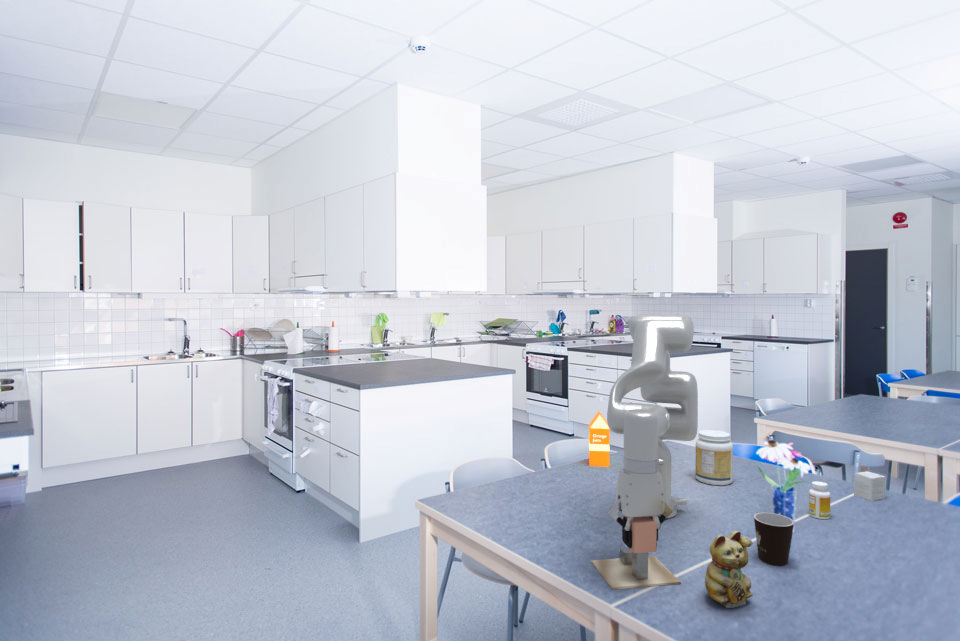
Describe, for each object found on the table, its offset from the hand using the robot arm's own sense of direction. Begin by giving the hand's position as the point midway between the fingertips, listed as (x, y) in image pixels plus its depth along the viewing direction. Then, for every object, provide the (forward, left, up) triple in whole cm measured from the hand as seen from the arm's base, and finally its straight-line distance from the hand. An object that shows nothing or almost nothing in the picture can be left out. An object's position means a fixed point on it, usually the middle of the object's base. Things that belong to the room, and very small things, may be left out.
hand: (640, 543), depth 126 cm
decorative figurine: (-14, +11, -8) cm, 20 cm away
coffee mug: (-37, -5, -8) cm, 38 cm away
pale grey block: (-96, -39, -8) cm, 104 cm away
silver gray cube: (0, -7, -8) cm, 11 cm away
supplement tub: (-56, -62, -8) cm, 84 cm away
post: (0, 0, -8) cm, 8 cm away
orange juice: (-24, -89, -8) cm, 93 cm away
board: (0, -3, -8) cm, 9 cm away
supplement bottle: (-68, -27, -8) cm, 74 cm away
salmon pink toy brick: (0, 0, -1) cm, 1 cm away
